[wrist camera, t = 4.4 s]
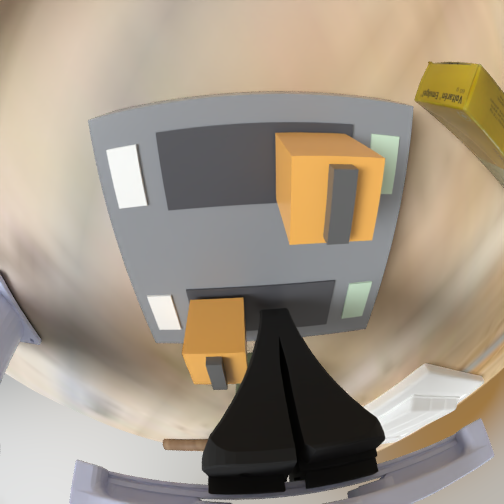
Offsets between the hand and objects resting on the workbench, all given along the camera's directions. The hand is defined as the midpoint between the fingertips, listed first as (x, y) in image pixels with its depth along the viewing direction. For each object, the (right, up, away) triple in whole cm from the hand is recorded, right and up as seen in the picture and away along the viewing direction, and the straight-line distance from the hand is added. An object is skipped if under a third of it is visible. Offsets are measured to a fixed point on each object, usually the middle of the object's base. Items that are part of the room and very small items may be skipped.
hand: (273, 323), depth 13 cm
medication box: (+13, +10, -1) cm, 16 cm away
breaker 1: (-3, 0, 0) cm, 3 cm away
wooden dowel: (-8, -24, +19) cm, 32 cm away
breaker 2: (+1, +6, -3) cm, 7 cm away
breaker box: (-1, +5, +1) cm, 5 cm away
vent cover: (+21, -20, +20) cm, 35 cm away
